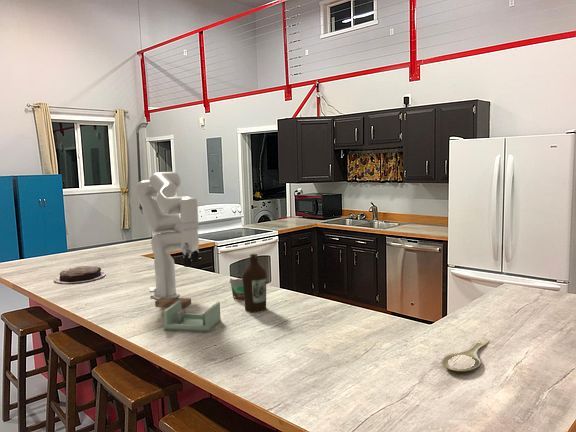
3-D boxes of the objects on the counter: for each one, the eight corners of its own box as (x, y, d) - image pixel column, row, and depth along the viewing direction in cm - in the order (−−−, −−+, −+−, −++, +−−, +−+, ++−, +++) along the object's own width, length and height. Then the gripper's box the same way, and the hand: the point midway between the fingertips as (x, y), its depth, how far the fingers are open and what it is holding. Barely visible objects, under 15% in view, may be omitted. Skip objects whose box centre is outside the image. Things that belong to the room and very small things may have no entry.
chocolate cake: (42, 283, 268) (41, 272, 267) (77, 272, 295) (76, 261, 294) (83, 286, 260) (82, 274, 259) (115, 274, 286) (114, 263, 286)
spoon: (471, 341, 172) (471, 335, 172) (502, 348, 166) (502, 342, 166) (434, 370, 145) (434, 363, 145) (469, 379, 139) (469, 372, 138)
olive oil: (239, 308, 212) (237, 254, 209) (260, 304, 217) (258, 251, 214) (251, 314, 203) (248, 257, 200) (272, 310, 209) (270, 254, 206)
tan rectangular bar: (162, 315, 206) (161, 306, 205) (164, 313, 208) (164, 304, 208) (183, 315, 204) (182, 306, 203) (185, 313, 206) (185, 305, 206)
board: (155, 307, 204) (155, 301, 204) (161, 303, 210) (161, 297, 209) (185, 308, 201) (185, 302, 201) (191, 304, 207) (190, 298, 207)
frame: (164, 330, 187) (163, 311, 186) (179, 318, 200) (178, 300, 199) (208, 332, 183) (207, 312, 182) (220, 320, 197) (219, 301, 196)
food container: (231, 302, 222) (231, 281, 221) (230, 298, 228) (229, 278, 227) (257, 299, 225) (256, 278, 224) (255, 295, 231) (254, 275, 230)
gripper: (188, 223, 215) (190, 260, 217) (173, 228, 198) (176, 268, 200) (204, 223, 214) (206, 260, 216) (191, 228, 197) (193, 268, 199)
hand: (191, 264), depth 208 cm, fingers open, 9 cm apart
